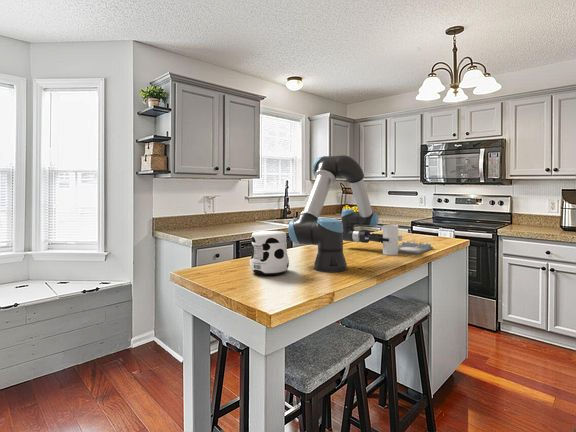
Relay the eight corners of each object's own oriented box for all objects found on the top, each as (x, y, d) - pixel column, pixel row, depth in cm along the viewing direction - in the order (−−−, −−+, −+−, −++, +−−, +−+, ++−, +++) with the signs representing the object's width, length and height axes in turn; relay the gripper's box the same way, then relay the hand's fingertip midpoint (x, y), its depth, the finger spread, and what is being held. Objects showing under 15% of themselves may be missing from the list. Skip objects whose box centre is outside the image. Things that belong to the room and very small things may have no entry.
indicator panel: (417, 254, 192) (417, 247, 192) (386, 251, 204) (386, 244, 204) (432, 248, 210) (433, 242, 210) (403, 245, 222) (404, 239, 222)
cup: (382, 254, 194) (382, 226, 193) (382, 252, 202) (383, 224, 200) (398, 255, 192) (398, 226, 190) (397, 252, 199) (398, 224, 198)
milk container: (288, 267, 166) (287, 230, 165) (289, 277, 149) (289, 235, 148) (251, 268, 166) (250, 230, 164) (249, 278, 148) (247, 236, 147)
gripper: (370, 240, 216) (406, 243, 201) (352, 244, 200) (390, 248, 185) (370, 228, 215) (406, 230, 200) (352, 231, 200) (390, 234, 185)
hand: (398, 239), depth 193 cm, fingers closed on cup, 8 cm apart
